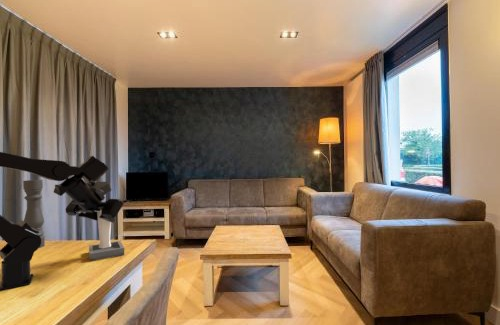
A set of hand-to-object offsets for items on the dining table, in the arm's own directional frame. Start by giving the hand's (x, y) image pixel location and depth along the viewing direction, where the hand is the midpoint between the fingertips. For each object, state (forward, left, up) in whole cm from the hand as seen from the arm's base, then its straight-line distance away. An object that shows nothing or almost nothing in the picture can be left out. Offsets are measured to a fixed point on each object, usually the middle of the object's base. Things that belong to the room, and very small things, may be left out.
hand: (108, 221), depth 94 cm
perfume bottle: (-1, +1, -9) cm, 9 cm away
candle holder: (+23, +23, -11) cm, 34 cm away
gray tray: (-1, +1, -11) cm, 11 cm away
